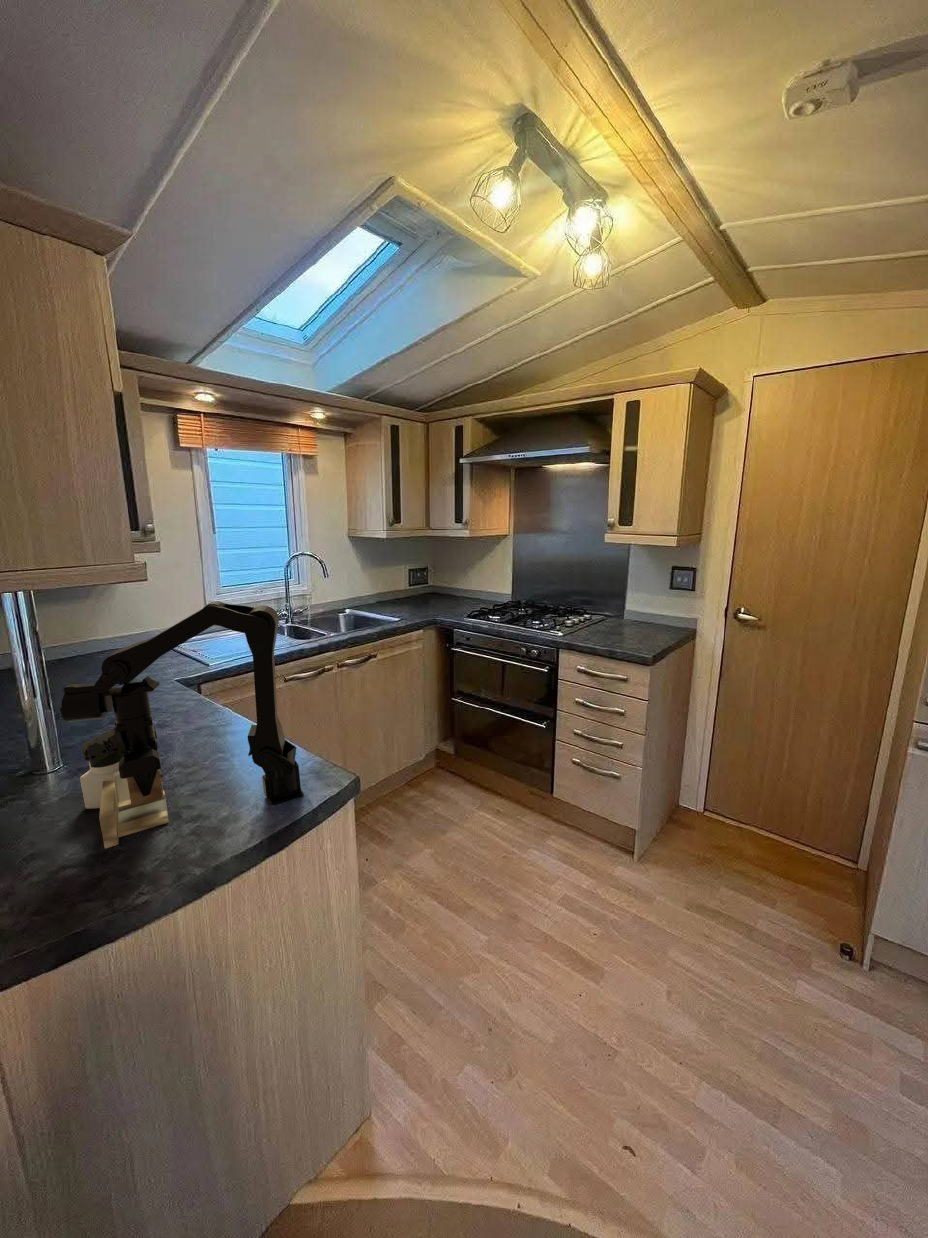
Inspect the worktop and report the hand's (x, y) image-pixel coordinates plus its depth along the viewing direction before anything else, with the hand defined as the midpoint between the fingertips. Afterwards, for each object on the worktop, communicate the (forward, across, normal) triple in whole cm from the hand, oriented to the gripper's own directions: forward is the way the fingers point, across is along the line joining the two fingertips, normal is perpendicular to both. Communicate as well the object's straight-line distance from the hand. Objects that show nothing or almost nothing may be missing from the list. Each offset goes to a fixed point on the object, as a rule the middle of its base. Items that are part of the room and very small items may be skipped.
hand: (146, 789), depth 99 cm
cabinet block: (+2, 0, 0) cm, 2 cm away
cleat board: (+5, 0, -2) cm, 6 cm away
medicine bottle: (+6, -11, -6) cm, 14 cm away
